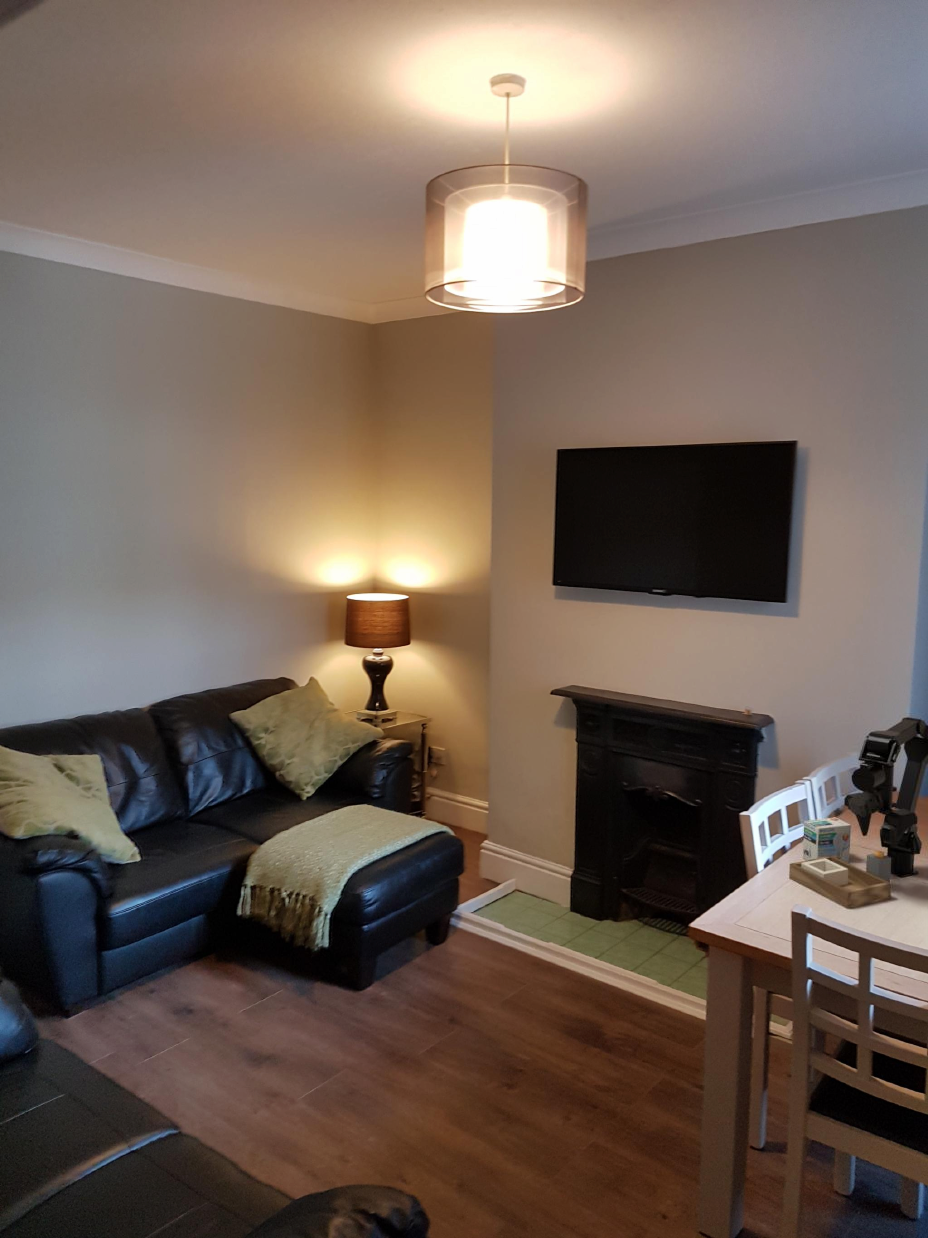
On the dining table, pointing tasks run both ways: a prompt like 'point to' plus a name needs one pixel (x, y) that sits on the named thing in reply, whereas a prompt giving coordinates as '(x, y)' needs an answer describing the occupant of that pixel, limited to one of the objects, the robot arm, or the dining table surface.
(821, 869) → the inlet socket
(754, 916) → the dining table surface
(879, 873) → the block
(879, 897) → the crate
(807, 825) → the light bulb box
